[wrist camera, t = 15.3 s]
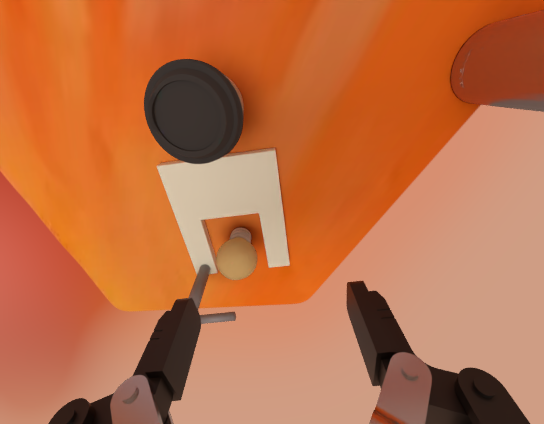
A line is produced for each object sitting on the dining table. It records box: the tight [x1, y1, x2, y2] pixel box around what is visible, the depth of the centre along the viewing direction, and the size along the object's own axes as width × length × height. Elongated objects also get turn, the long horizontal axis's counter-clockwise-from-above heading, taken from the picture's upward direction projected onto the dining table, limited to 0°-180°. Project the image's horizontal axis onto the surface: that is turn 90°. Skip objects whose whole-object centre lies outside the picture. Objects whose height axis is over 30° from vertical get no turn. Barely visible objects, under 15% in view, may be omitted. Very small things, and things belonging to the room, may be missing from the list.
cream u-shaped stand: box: [157, 148, 290, 324], centre depth 36 cm, size 18×22×14 cm
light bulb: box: [216, 227, 257, 280], centre depth 40 cm, size 6×6×10 cm
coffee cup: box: [144, 59, 244, 164], centre depth 27 cm, size 9×9×15 cm
